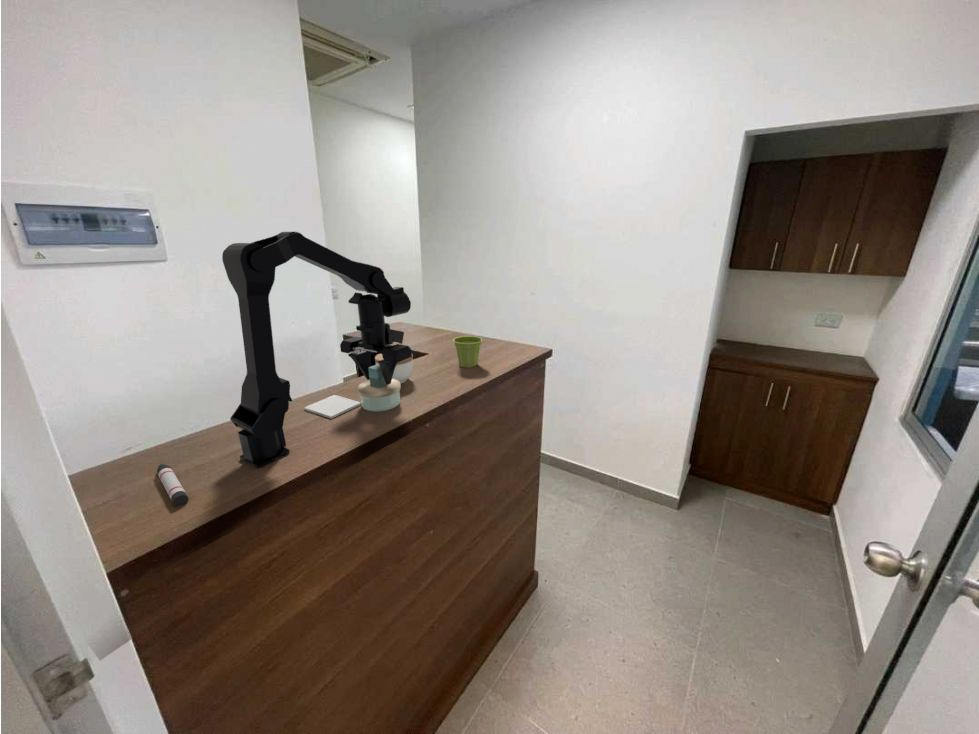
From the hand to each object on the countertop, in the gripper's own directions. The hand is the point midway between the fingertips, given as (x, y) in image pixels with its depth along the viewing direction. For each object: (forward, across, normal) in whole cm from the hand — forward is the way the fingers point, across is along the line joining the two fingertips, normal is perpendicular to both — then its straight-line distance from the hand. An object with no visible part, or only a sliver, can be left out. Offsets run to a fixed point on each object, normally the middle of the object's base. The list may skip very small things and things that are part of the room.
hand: (378, 381), depth 96 cm
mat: (+6, +9, +8) cm, 13 cm away
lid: (+2, 0, 0) cm, 2 cm away
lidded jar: (+6, +8, -14) cm, 17 cm away
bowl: (+6, 0, 0) cm, 6 cm away
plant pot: (+6, -3, -36) cm, 37 cm away
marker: (+7, +7, +42) cm, 44 cm away
